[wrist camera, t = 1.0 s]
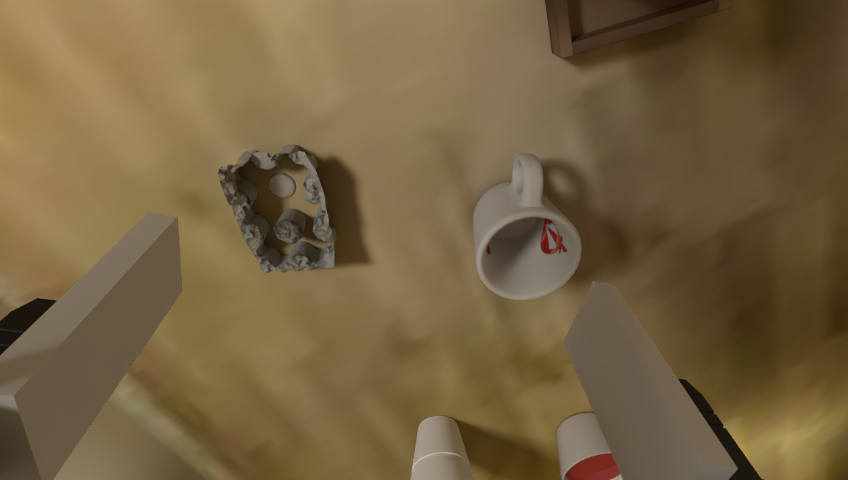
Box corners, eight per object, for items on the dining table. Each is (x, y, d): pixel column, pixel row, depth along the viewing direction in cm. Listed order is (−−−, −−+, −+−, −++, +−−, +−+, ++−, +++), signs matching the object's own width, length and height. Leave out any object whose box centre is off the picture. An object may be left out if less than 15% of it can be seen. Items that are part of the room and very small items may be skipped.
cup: (467, 136, 38) (482, 174, 31) (564, 136, 38) (600, 173, 31) (461, 249, 43) (473, 303, 36) (546, 248, 44) (573, 300, 37)
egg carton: (228, 146, 38) (210, 164, 34) (320, 138, 38) (312, 156, 34) (262, 257, 43) (249, 283, 40) (342, 250, 43) (337, 275, 39)
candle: (556, 403, 55) (574, 451, 49) (629, 406, 55) (654, 453, 50) (539, 451, 59) (553, 500, 54) (606, 453, 60) (627, 502, 54)
